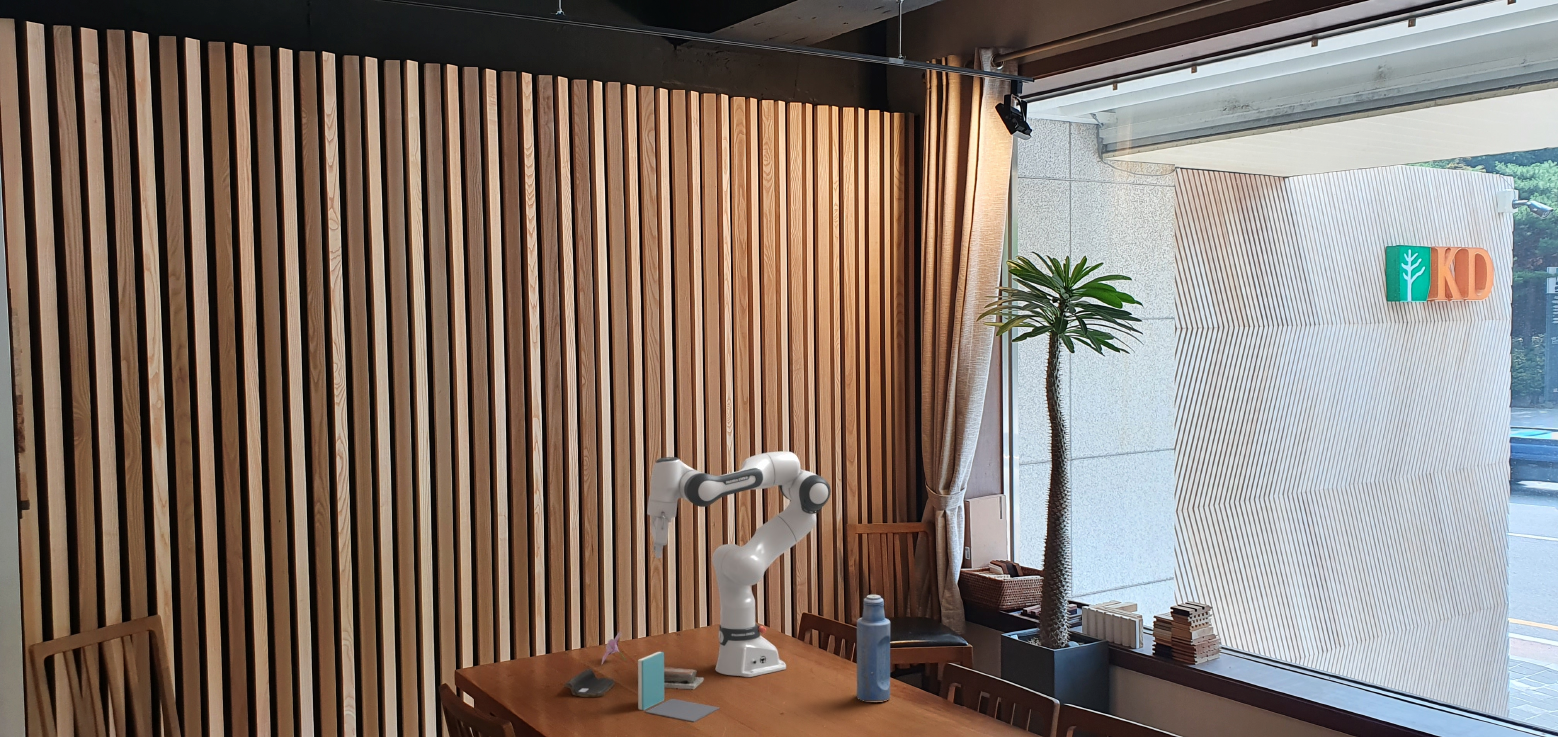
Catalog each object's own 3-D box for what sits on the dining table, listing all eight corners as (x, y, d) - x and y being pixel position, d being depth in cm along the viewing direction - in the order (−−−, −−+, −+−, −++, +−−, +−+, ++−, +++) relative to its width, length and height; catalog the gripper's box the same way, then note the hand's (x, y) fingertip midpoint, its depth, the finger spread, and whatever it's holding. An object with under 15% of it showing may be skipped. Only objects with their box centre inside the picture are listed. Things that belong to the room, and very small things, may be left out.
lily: (611, 657, 366) (597, 634, 364) (641, 645, 363) (627, 622, 361) (601, 678, 355) (586, 654, 353) (631, 666, 352) (617, 642, 350)
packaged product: (637, 671, 331) (648, 662, 341) (637, 687, 331) (649, 677, 341) (694, 674, 327) (704, 665, 337) (694, 691, 327) (704, 681, 337)
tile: (638, 709, 309) (638, 659, 309) (659, 699, 318) (658, 651, 318) (643, 710, 309) (643, 660, 308) (664, 700, 317) (664, 652, 317)
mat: (645, 712, 306) (645, 711, 306) (671, 699, 318) (671, 698, 318) (694, 721, 298) (694, 720, 298) (719, 708, 310) (719, 707, 310)
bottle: (871, 691, 325) (871, 590, 325) (897, 698, 318) (897, 595, 318) (850, 698, 318) (849, 595, 318) (875, 705, 311) (875, 600, 311)
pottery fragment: (599, 699, 319) (599, 685, 319) (561, 696, 322) (561, 681, 322) (617, 684, 333) (617, 670, 333) (581, 681, 336) (581, 667, 336)
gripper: (674, 515, 325) (669, 562, 324) (669, 506, 345) (664, 549, 345) (653, 513, 323) (648, 560, 323) (649, 504, 344) (644, 548, 343)
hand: (656, 554), depth 334 cm, fingers open, 8 cm apart
